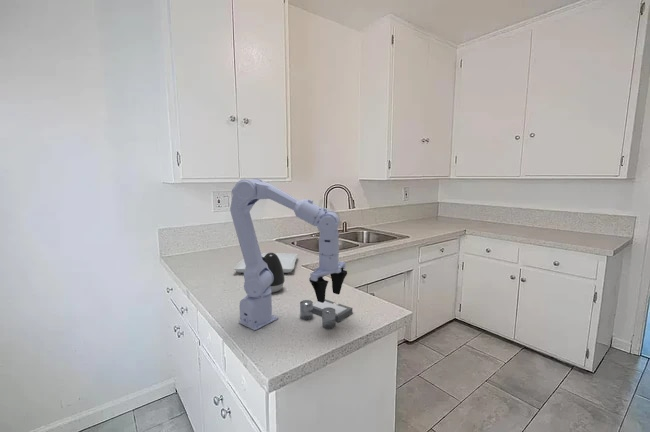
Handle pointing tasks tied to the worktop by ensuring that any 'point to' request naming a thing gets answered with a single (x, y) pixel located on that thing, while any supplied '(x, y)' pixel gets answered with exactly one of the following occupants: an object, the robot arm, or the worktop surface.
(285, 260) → the square plate
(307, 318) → the cylinder
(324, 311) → the cylinder
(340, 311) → the scale
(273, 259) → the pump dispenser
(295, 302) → the worktop surface
